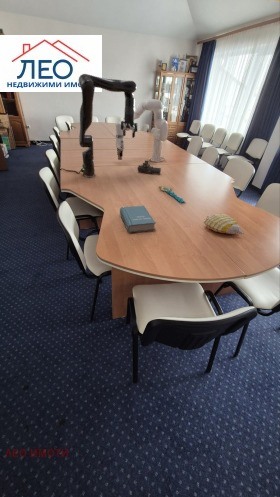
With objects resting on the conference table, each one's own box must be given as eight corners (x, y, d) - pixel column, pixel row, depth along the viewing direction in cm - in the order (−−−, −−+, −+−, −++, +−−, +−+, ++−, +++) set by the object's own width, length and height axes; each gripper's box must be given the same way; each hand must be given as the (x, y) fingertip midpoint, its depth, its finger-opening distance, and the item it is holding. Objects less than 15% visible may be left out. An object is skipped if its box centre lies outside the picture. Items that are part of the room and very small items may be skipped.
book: (154, 230, 131) (155, 222, 128) (128, 232, 126) (128, 225, 124) (143, 212, 148) (143, 205, 145) (119, 214, 144) (120, 207, 141)
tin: (122, 159, 230) (122, 150, 224) (118, 160, 228) (118, 150, 223) (121, 158, 233) (121, 149, 227) (117, 158, 231) (117, 149, 226)
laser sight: (159, 175, 211) (160, 165, 205) (136, 173, 213) (137, 162, 208) (160, 172, 218) (161, 162, 212) (138, 170, 221) (139, 159, 215)
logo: (158, 186, 187) (158, 185, 187) (168, 186, 190) (168, 185, 189) (173, 203, 162) (174, 202, 161) (185, 203, 164) (186, 201, 164)
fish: (254, 225, 128) (232, 232, 118) (249, 236, 132) (228, 244, 123) (221, 208, 144) (199, 213, 134) (217, 218, 149) (196, 224, 139)
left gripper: (139, 114, 168) (138, 137, 178) (124, 112, 174) (124, 134, 183) (134, 114, 163) (133, 138, 173) (118, 112, 168) (118, 136, 178)
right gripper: (127, 137, 213) (126, 157, 224) (119, 134, 225) (119, 153, 236) (120, 138, 210) (120, 158, 221) (112, 134, 221) (113, 154, 232)
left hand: (128, 136), depth 178 cm, fingers open, 8 cm apart
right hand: (119, 155), depth 228 cm, fingers closed on tin, 4 cm apart
